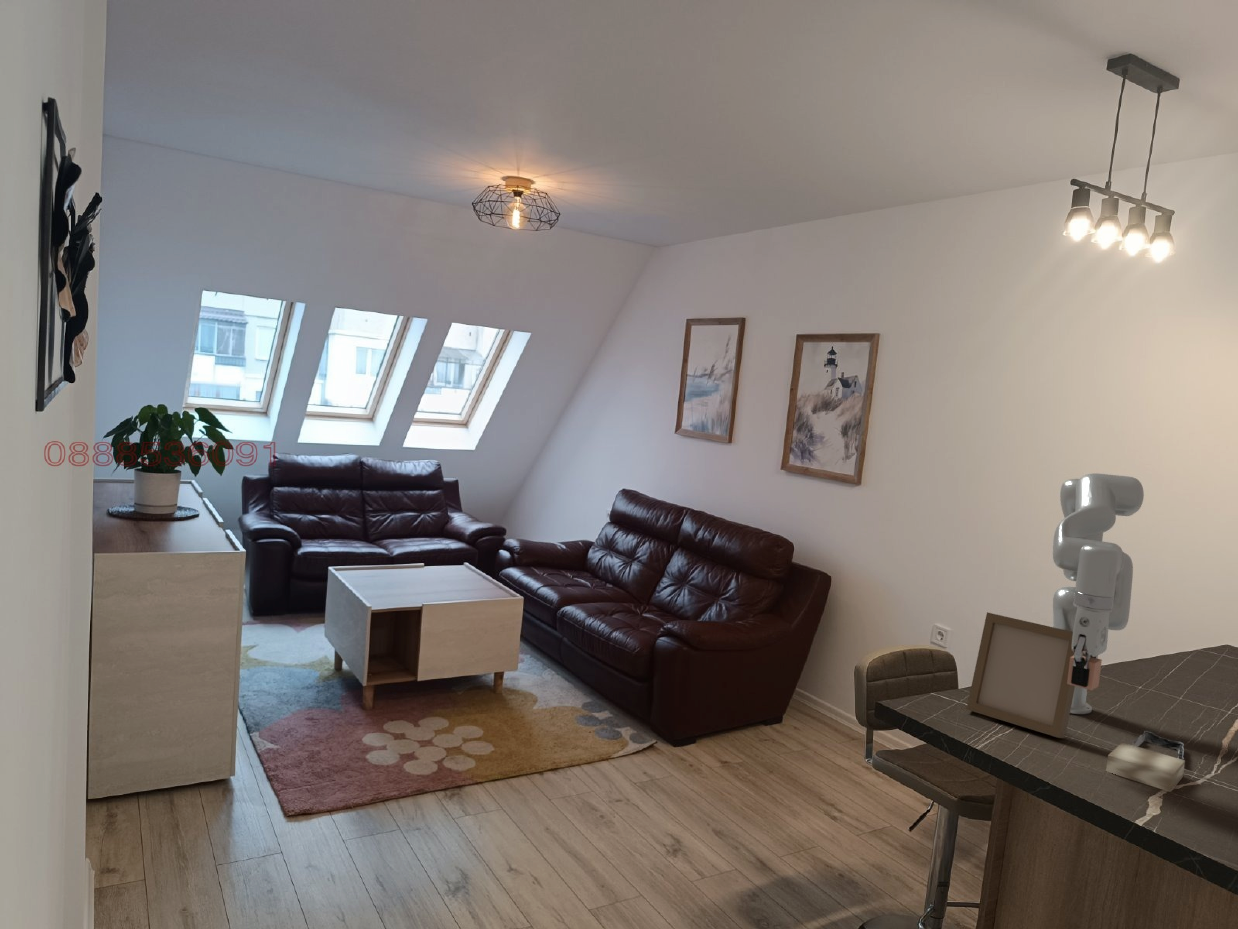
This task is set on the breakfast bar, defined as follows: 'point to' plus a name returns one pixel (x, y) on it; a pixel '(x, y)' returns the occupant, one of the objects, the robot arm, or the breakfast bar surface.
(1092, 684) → the terracotta block
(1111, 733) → the breakfast bar surface
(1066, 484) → the robot arm
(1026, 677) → the photo frame
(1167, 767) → the birch block
